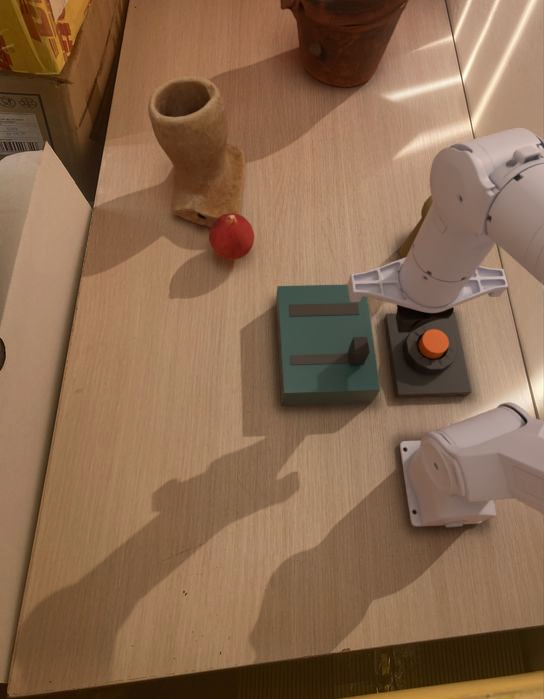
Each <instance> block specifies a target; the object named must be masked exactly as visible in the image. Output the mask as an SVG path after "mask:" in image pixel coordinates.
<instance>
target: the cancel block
mask: <svg viewBox="0 0 544 699" xmlns="http://www.w3.org/2000/svg"><path fill="white" fill-rule="evenodd" d="M396 314H397V313H386V314H385V315H384V317H383V321H384V327H385V333H386V340H387V341H386V342H387V347H388V353H389V360H390V367H391V374H392V380H393V387H394V394H395V398H396V399H404V398H405V399H407V398H431V397H433V398H434V397H435V398H437V397H463V396H464V397H465V396H466V397H467V396H470V394H472V387H471V383H470V377H469V372H468V367H467V363H466V359H465V354H464V349H463V345H462V340H461V335H460V330H459V326H458V321H457V316H456V312H455V311H453V313H452V315H451V316H450V317H449V318H448V319H439V320H435V321H432V322H429V323H427V324H425V325H423V326H421V327H419V328H418V329H416V330H414V331H412V332H408V333H399V332H398V327H397V322H396ZM431 329H437V330H440V331H442V332H443V333H444V334H445V335H446V336H447V338H448V340H449V346H448V348H447V350H446V351H445V352H444V353H443V355H442V356H441V357H439V358H436V359H430V358H427V357H425V356H424V355H423V354H422V353H421V352H420V350H419V347H418V344H419V341H420V339H421V337H422V336H423V335H424V333H425V332H426V331H428V330H431Z"/></svg>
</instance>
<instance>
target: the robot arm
mask: <svg viewBox="0 0 544 699" xmlns="http://www.w3.org/2000/svg"><path fill="white" fill-rule="evenodd" d="M429 190H430V196H432V200H433V203H432V205H431V207H430V209H429V211H428V213H427V215H426V217H425V219H424V222H423V224H422V226H421V228H420V230H419V232H418V234H417V236H416V238H415V240H414V242H413V244H412V246H411V248H410V251H409V253H408V255H407V257H405V258H402V259H400V258H399V259H398V260H397V259H396V260H394V261H392V262H389V263H386V264H383V265H381V266H378V267H375V268H372V269H370V270H367V271H363V272H356V273H350V275H349V279H348V281H347V285H348V292H349V299H350V302H359V301H361V299H362V297H363V296H365V297H367V298H370V299H374V300H378V301H382V302H385V303H390V304H393V305H396V313H395V314H396V322H397V327H398V332H399V333H408V332H412V331H414V330H416V329H418V328H419V327H421V326H423V325H425V324H427V323H429V322H432V321H435V320H439V319H448V318H449V317H450V316H451V315H452V313H453V312H455V307H457V306H460V305H463V304H464V303H467V302H469V301H473V300H475V299H477V298H480V297H482V296H485V295H488V297H490V298H499V297H501V296H502V295H503V293H504V292H506V290H507V289H508V288H509V284H508V281H507V277H506V273H505V270H504V268H493V267H488V266H483V265H481V264H482V263H483V261H484V260H485V259H486V258H487V256H488V255H489V254H490V252H491V250H492V249H493V248H494V247H495V245H497V246H498V247H500V249H502V250H503V251H504V252H505V253H507V255H508V256H510V257H511V258H512V259H513V260H514V261H515V262H517V263H518V265H520V266H521V267H522V268H523V269H525V271H527V272H528V273H529V274H530V275H531V276H532V277H533V278H535V279H536V280H537V281H538V282H539V283H540V284H541V285H542V286H544V139H543V138H542V137H541V136H539V135H538V134H536V133H534V132H532V131H531V130H529V129H527V128H523V127H514V128H509V129H505V130H502V131H497V132H495V133H491V134H486V135H484V136H480V137H477V138H473V139H470V140H466V141H461V142H457V143H454V144H452V145H450V146H449V147H444V148H442V149H441V150H439V151H438V152H437V154H436V155H435V156H434V158H433V161H432V163H431V166H430V171H429ZM404 449H405V450H406V451H405V450H404ZM399 452H400V458H401V459H400V460H401V465H402V471H403V478H404V486H405V494H406V500H407V506H408V514H409V520H410V524H411V525H412V526H413V527H417V528H418V527H436V526H437V527H439V526H445V527H444V528H459V527H463V526H464V525H477V524H478V525H479V524H481V523H483V522H484V521H487V520H490V519H493V518H496V517H497V509H496V504H495V501H498V500H509V499H510V500H511V499H512V500H513V499H515V500H517V501H518V502H520V503H522V504H524V505H526V506H528V507H529V508H531V509H533V510H535V511H537V512H539V513H541V514H542V515H544V420H541V419H538V418H536V417H534V416H532V415H531V414H530V413H529V412H528V411H527V410H525V409H524V408H523V407H521V406H520V405H518V404H516V403H514V402H512V401H511V402H509V401H508V402H503V403H500V404H499V405H498V406H496V407H495V408H491V409H489V410H487V411H484V412H481V413H478V414H475V415H473V416H471V417H469V418H466V419H463V420H459V421H455V422H451V424H450V423H448V424H447V425H445V426H443V427H442V428H438V429H436V430H429V431H426V432H424V433H423V434H422V435H421V438H420V440H403V441H401V442H400V443H399ZM413 511H414V512H415V514H414V513H413Z"/></svg>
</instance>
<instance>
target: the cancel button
mask: <svg viewBox="0 0 544 699" xmlns="http://www.w3.org/2000/svg"><path fill="white" fill-rule="evenodd" d="M448 346H449V340H448V338H447V336H446V335H445V334H444V333H443V332H442V331H440V330H437V329H431V330H428V331H426V332H425V333H424V335H423V336H422V337H421V339H420V341H419V344H418V347H419V350H420V352H421V353H422V354H423V355H424V356H425V357H427V358H430V359H436V358H439V357H441V356H442V355H443V353H444V352H445V351H446V350H447V348H448Z"/></svg>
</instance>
